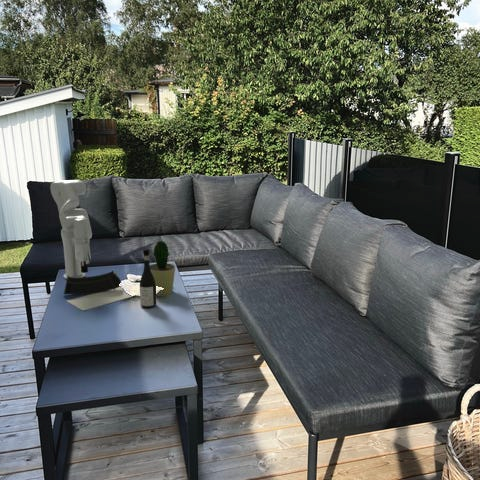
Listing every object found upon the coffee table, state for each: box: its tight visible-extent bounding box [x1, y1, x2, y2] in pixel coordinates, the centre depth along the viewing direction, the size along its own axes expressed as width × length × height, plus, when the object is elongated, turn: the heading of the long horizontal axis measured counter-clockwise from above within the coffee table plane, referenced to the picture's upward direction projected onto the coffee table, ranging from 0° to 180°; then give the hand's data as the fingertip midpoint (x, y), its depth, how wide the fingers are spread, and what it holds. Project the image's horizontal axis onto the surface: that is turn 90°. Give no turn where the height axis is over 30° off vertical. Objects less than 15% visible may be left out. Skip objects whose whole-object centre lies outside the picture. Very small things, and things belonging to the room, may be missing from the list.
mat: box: [66, 286, 133, 312], centre depth 258 cm, size 18×33×1 cm, turn 135°
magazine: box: [63, 270, 122, 295], centre depth 264 cm, size 17×3×30 cm
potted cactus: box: [149, 240, 176, 297], centre depth 264 cm, size 15×15×30 cm
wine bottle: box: [139, 248, 157, 309], centre depth 244 cm, size 8×8×30 cm
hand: (84, 272), depth 269 cm, fingers closed
